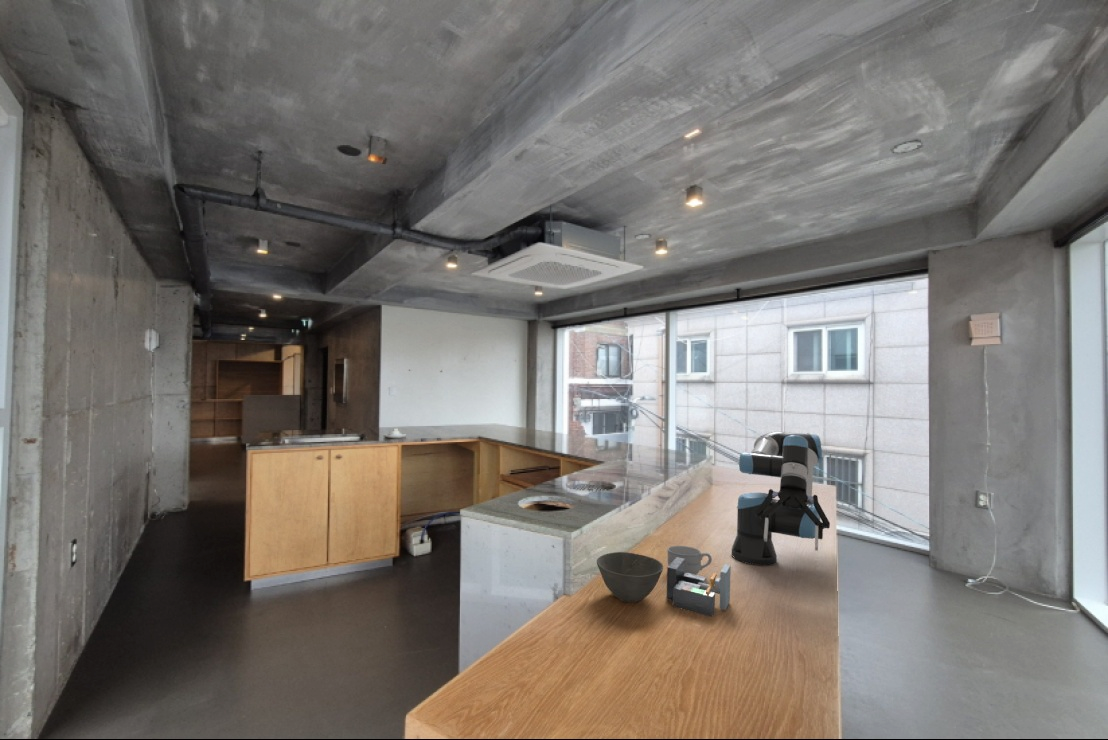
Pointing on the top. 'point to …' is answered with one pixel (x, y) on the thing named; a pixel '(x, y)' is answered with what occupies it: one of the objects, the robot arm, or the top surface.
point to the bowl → (629, 574)
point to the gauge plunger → (721, 586)
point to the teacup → (688, 558)
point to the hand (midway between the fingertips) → (790, 544)
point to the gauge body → (688, 590)
